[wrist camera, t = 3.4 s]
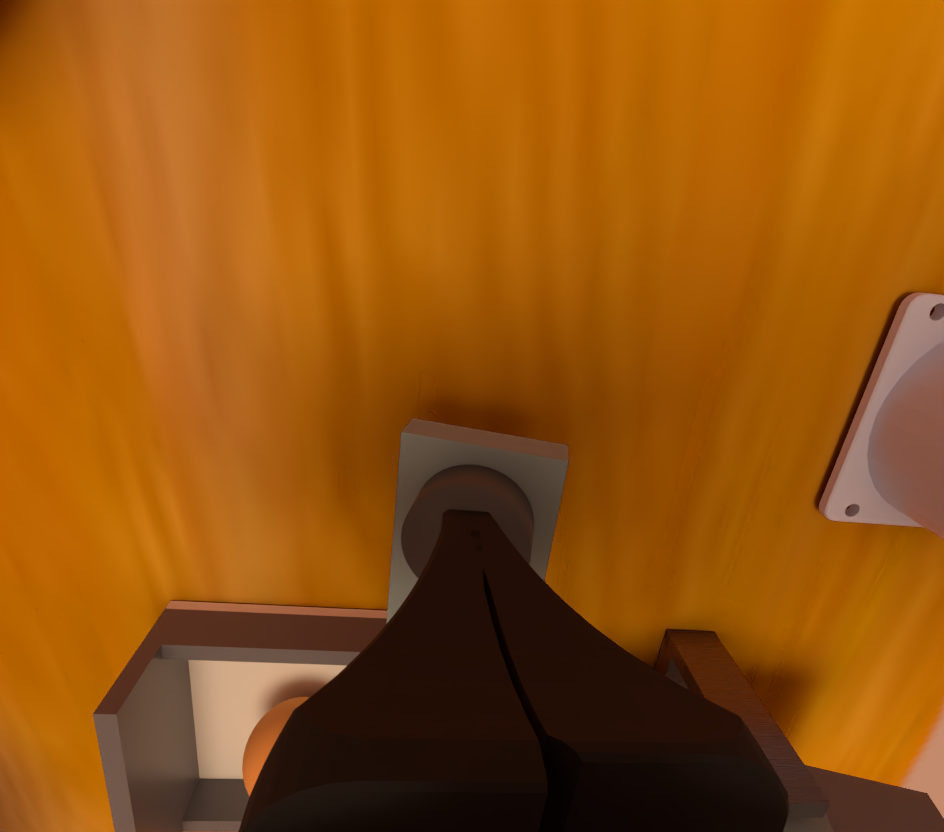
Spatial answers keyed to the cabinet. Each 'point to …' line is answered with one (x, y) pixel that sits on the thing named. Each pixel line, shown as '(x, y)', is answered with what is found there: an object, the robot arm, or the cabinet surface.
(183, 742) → the box
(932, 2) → the cabinet surface
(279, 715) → the ball
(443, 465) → the lever trough
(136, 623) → the cabinet surface
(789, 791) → the pivot stand
